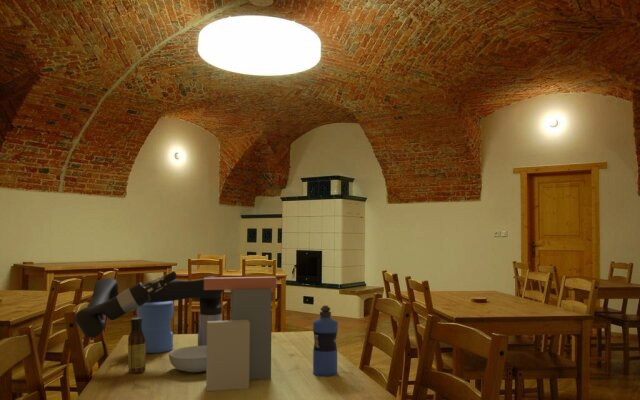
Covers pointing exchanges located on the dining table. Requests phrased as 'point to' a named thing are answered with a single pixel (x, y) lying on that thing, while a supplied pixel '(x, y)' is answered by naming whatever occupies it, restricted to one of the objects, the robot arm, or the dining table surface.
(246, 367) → the stand
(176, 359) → the serving bowl
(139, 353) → the sauce bottle
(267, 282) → the bar
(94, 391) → the dining table surface
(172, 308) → the water jug
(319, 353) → the water bottle
